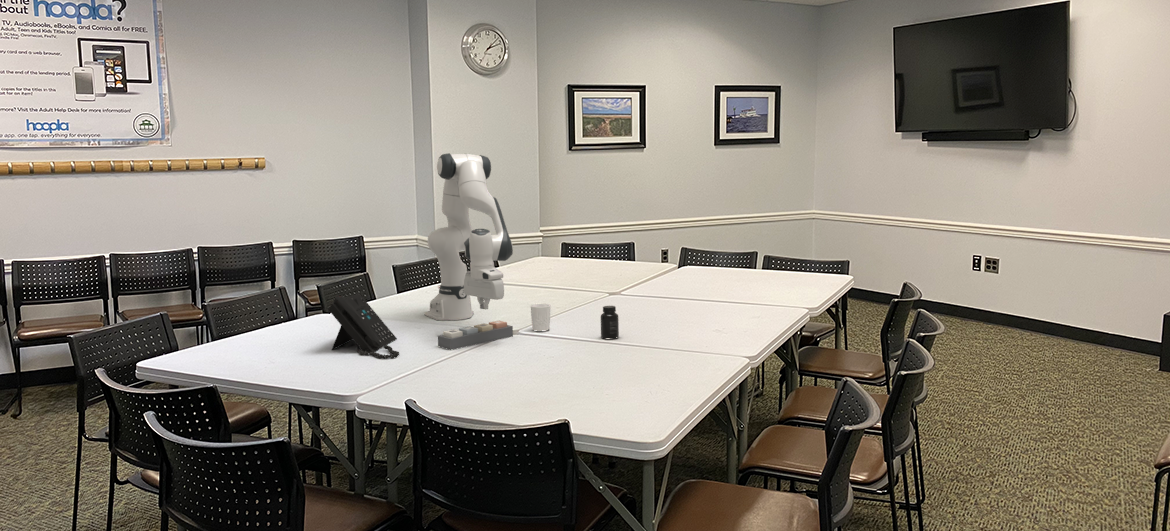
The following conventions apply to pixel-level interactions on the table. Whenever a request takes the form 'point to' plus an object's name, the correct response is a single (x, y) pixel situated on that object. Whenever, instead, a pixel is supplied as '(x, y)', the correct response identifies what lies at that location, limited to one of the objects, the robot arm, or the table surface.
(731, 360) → the table surface
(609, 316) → the supplement bottle
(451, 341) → the dark grey holder tray
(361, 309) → the office phone
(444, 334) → the key
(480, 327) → the key
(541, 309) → the white cup
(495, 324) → the key
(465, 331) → the key
